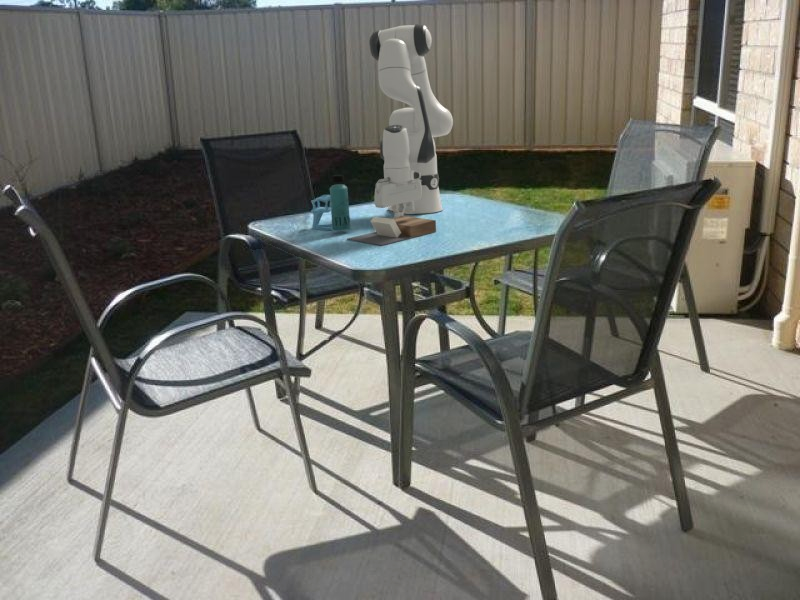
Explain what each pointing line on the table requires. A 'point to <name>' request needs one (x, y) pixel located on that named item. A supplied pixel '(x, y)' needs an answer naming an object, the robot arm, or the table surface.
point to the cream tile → (385, 227)
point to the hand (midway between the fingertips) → (399, 217)
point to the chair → (321, 213)
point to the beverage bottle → (339, 204)
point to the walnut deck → (415, 226)
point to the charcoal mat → (378, 239)
